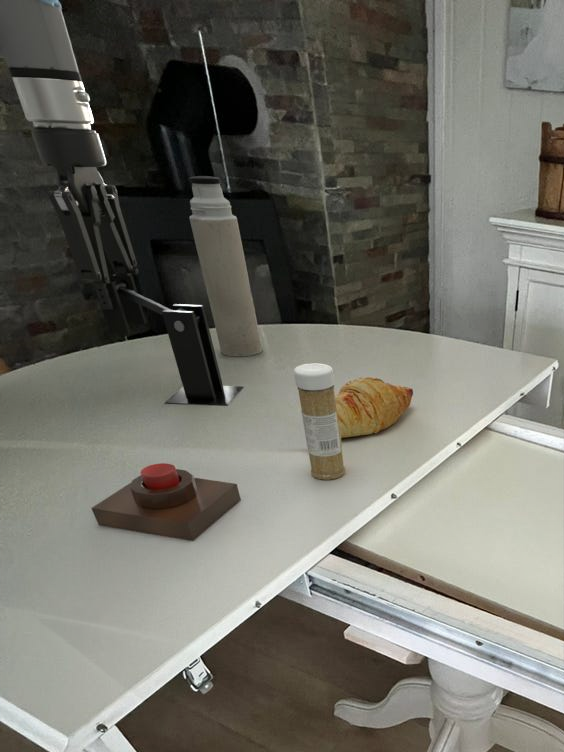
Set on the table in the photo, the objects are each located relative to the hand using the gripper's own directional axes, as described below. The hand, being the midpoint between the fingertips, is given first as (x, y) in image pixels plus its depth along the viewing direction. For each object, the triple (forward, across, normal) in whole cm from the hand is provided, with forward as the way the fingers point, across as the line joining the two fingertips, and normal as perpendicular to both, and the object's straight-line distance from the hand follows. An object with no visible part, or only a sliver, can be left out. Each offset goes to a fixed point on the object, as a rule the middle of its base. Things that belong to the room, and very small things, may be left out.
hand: (128, 327), depth 90 cm
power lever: (-2, 0, -4) cm, 5 cm away
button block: (+11, -37, -18) cm, 42 cm away
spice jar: (+11, -26, -34) cm, 44 cm away
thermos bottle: (+11, +30, -6) cm, 32 cm away
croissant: (+11, -8, -36) cm, 39 cm away
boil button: (+7, -37, -18) cm, 42 cm away
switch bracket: (+11, 0, -9) cm, 14 cm away
